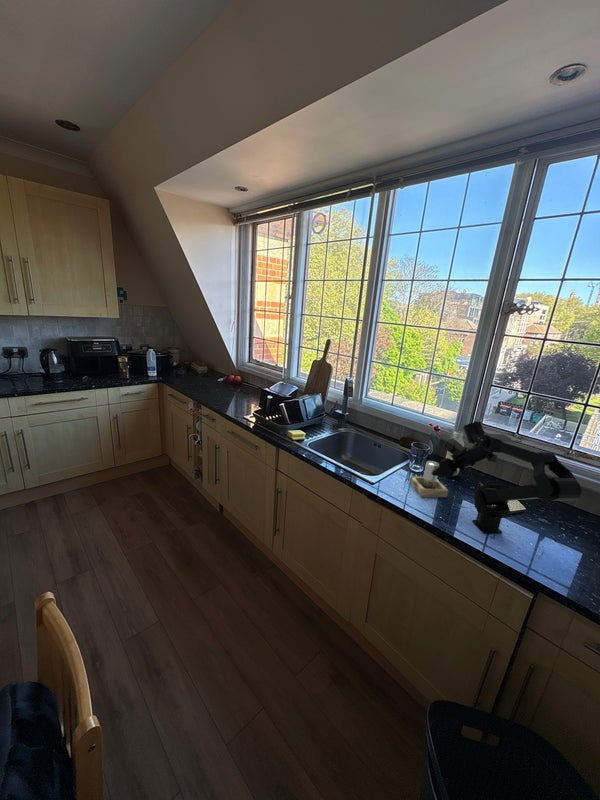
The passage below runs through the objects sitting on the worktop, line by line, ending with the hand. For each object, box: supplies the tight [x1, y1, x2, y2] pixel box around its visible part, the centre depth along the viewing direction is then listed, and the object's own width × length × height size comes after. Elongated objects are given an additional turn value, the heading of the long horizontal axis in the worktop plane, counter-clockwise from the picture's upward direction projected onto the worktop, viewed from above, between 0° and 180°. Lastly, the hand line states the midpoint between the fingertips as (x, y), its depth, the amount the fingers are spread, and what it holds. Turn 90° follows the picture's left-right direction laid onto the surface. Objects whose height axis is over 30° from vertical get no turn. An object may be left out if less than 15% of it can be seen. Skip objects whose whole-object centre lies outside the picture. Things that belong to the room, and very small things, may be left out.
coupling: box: [421, 460, 439, 489], centre depth 126 cm, size 7×6×11 cm
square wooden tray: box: [409, 476, 449, 498], centre depth 128 cm, size 10×10×3 cm
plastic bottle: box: [445, 430, 465, 477], centre depth 140 cm, size 6×7×20 cm
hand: (438, 470), depth 124 cm, fingers open, 9 cm apart
